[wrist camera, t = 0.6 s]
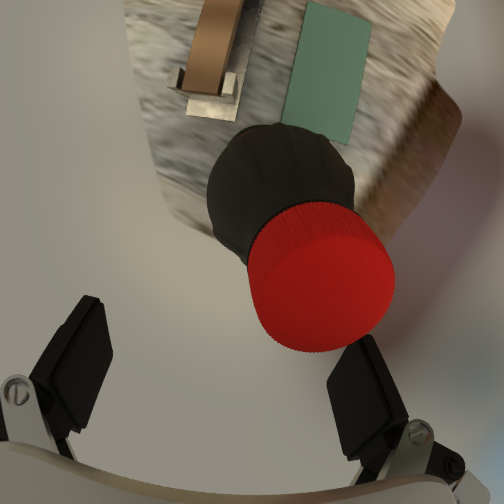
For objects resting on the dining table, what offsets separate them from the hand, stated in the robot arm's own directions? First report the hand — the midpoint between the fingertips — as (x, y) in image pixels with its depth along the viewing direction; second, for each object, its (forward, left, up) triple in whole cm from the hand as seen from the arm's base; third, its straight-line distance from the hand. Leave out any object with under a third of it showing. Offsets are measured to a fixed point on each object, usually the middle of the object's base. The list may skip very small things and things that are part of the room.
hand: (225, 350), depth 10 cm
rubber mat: (-18, +8, -28) cm, 34 cm away
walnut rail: (-18, -5, -19) cm, 26 cm away
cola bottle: (-4, +2, -28) cm, 29 cm away
